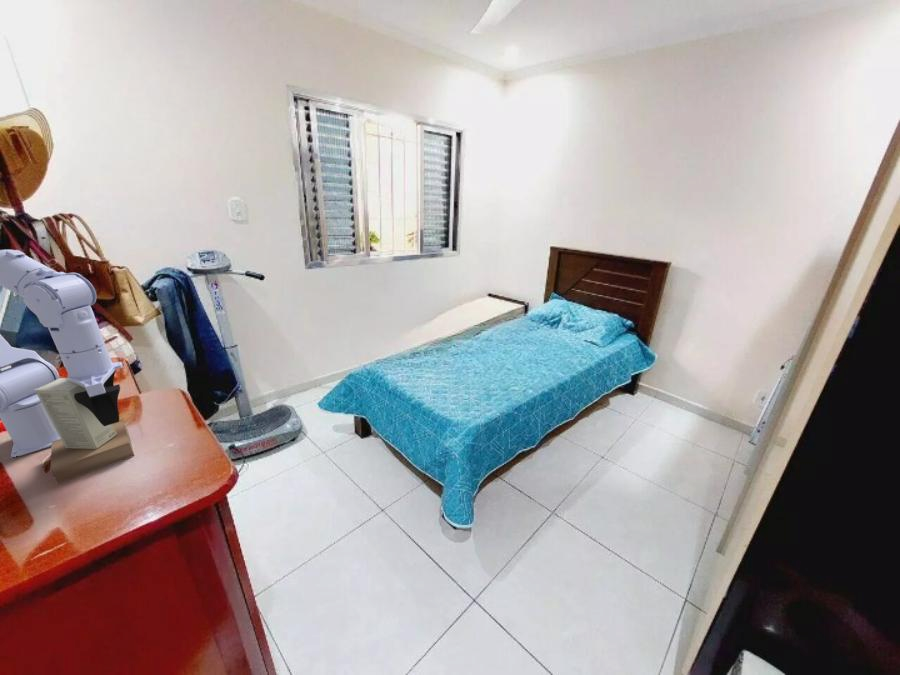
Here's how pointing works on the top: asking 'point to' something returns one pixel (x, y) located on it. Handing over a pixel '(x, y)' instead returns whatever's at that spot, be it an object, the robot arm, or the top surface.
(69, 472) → the block
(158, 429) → the top surface
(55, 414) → the skincare box
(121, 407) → the top surface
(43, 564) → the top surface
